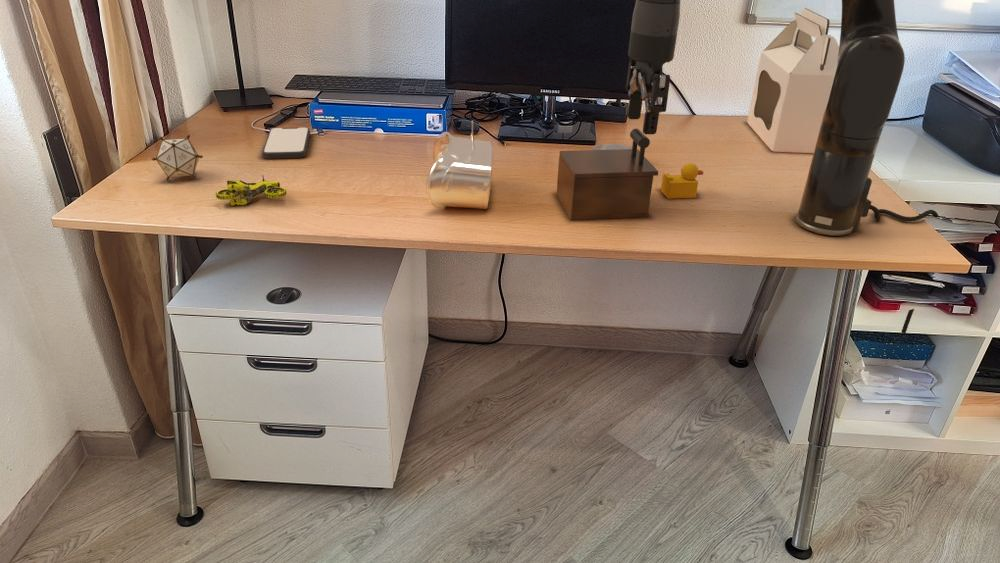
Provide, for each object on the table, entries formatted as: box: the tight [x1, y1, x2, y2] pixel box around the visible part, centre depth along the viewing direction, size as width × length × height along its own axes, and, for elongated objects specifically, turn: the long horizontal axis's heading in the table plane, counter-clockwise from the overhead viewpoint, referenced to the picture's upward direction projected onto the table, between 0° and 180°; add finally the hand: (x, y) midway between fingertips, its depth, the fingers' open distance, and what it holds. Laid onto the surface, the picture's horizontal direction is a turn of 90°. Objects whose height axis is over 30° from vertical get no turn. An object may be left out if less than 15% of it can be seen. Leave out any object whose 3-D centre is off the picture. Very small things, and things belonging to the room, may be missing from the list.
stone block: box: [592, 142, 632, 150], centre depth 148 cm, size 12×5×10 cm
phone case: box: [261, 126, 311, 160], centre depth 154 cm, size 9×2×16 cm
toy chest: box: [556, 155, 654, 221], centre depth 129 cm, size 14×12×8 cm
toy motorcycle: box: [215, 174, 287, 206], centre depth 128 cm, size 12×4×7 cm
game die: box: [151, 134, 204, 182], centre depth 135 cm, size 9×8×10 cm
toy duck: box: [660, 162, 704, 199], centre depth 136 cm, size 7×4×6 cm, turn 99°
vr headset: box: [426, 120, 494, 210], centre depth 130 cm, size 18×11×14 cm, turn 1°
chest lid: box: [558, 128, 659, 178], centre depth 126 cm, size 15×12×6 cm
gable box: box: [746, 7, 839, 154], centre depth 163 cm, size 22×13×28 cm, turn 178°
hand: (641, 126), depth 125 cm, fingers open, 8 cm apart
